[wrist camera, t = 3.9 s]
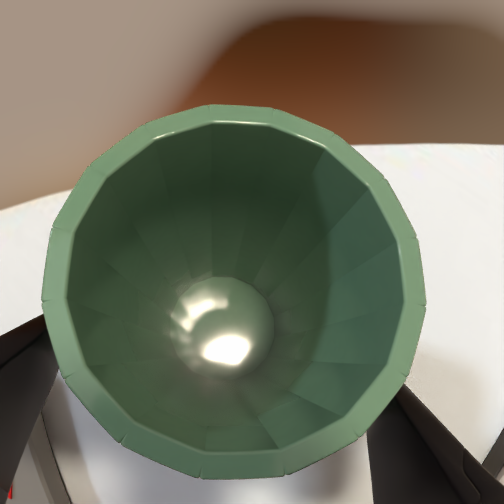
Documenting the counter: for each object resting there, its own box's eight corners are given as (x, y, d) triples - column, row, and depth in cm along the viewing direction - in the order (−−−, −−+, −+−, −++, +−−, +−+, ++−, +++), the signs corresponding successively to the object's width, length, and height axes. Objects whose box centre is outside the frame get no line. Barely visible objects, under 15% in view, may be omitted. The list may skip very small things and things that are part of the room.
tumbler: (222, 410, 16) (244, 545, 3) (139, 326, 17) (-12, 259, 4) (304, 328, 18) (473, 270, 5) (222, 248, 18) (242, 62, 6)
